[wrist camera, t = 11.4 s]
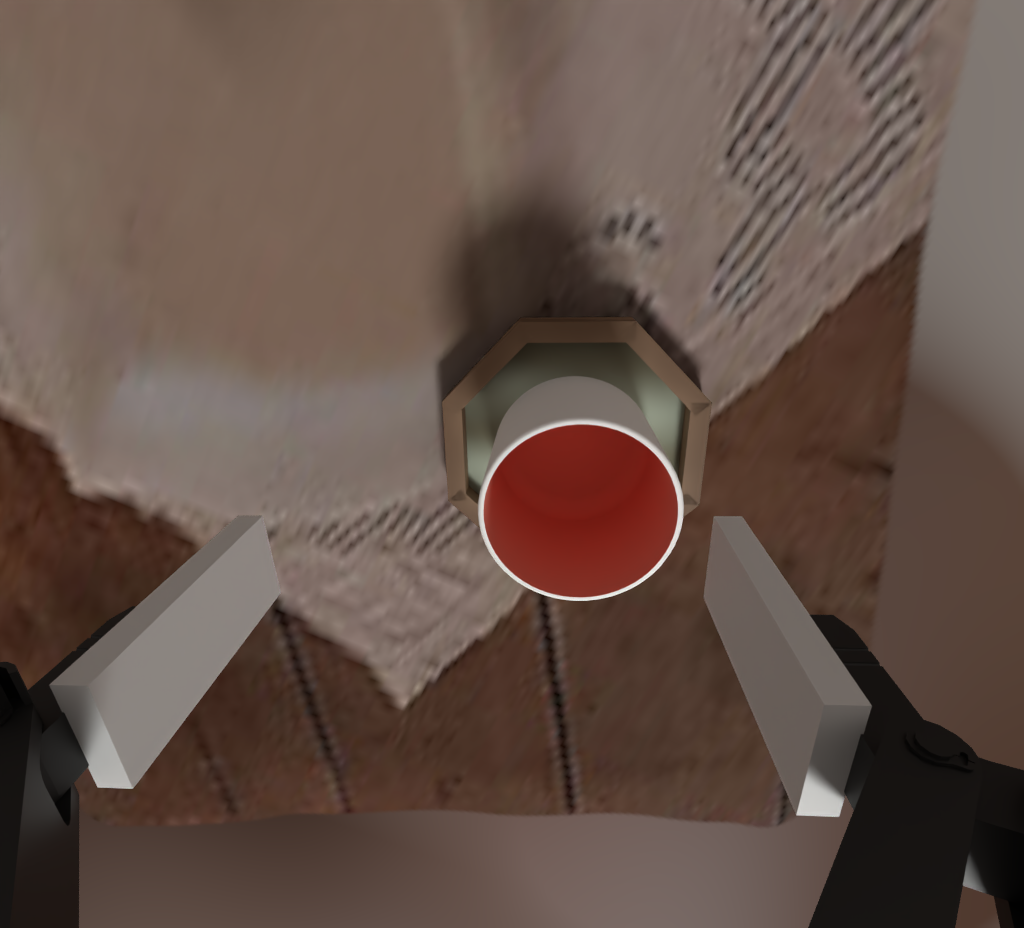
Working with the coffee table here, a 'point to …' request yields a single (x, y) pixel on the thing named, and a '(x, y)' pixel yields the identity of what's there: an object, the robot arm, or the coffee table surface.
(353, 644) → the coffee table surface
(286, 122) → the coffee table surface
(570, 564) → the cup
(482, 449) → the tray
